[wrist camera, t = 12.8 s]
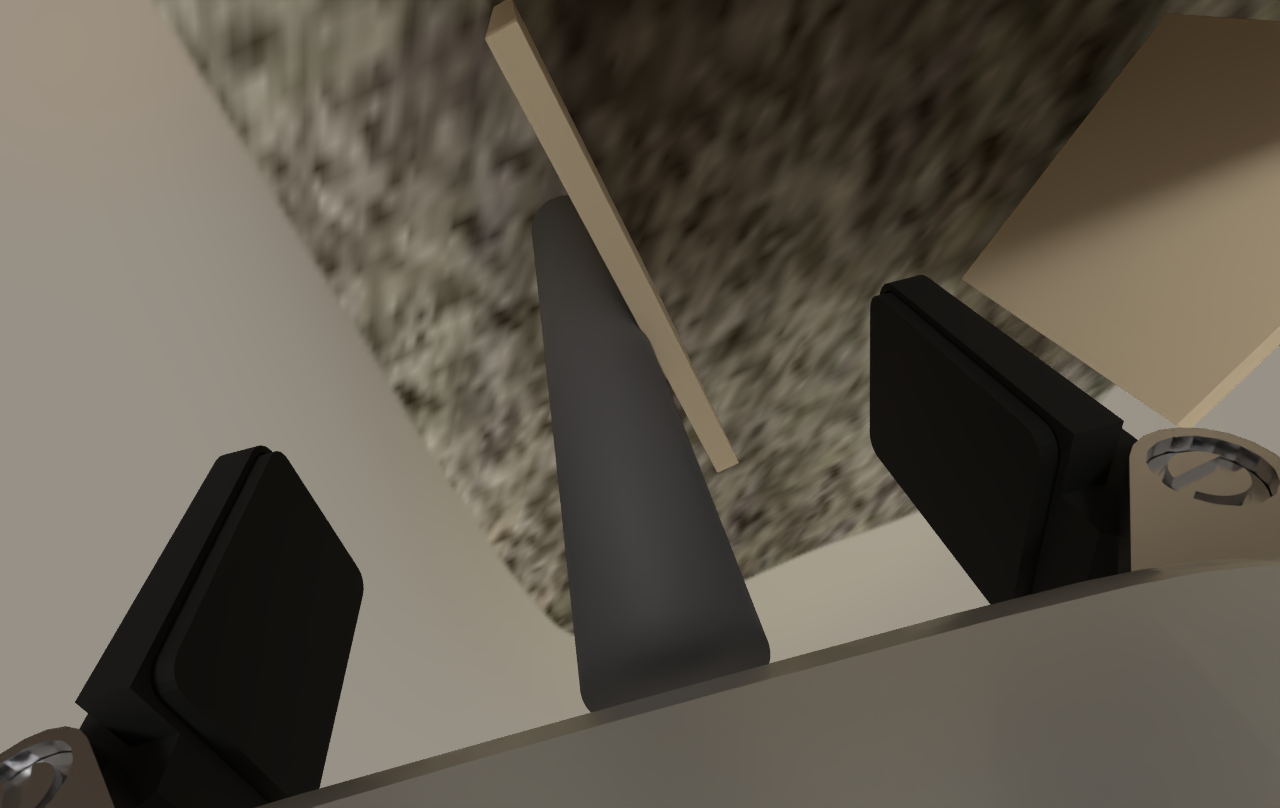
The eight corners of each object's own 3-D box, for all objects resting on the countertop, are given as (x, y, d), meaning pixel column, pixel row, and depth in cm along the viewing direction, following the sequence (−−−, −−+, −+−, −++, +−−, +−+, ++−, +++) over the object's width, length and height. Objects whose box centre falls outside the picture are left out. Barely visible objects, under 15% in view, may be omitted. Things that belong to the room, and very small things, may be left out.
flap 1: (511, -4, 17) (534, 98, 4) (657, 291, 22) (883, 766, 9) (426, 46, 17) (177, 297, 4) (590, 326, 22) (713, 835, 9)
